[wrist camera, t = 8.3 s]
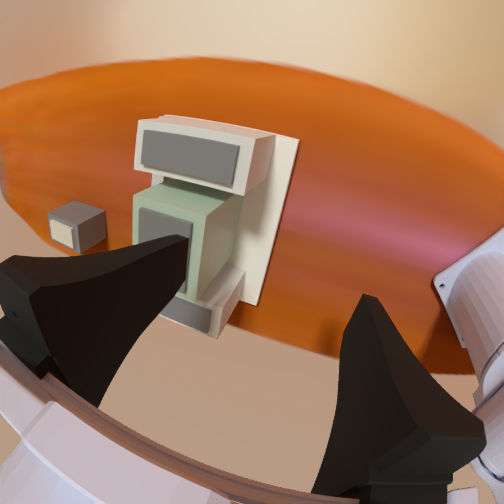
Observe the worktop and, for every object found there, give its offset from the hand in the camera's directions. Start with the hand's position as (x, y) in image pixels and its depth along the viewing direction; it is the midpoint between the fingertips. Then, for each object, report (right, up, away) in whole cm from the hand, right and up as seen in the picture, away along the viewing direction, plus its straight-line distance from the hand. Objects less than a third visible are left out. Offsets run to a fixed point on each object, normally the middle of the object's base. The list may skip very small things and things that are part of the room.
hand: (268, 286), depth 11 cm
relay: (-18, +5, +15) cm, 24 cm away
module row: (-3, +5, +11) cm, 12 cm away
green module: (-4, +4, +10) cm, 11 cm away
